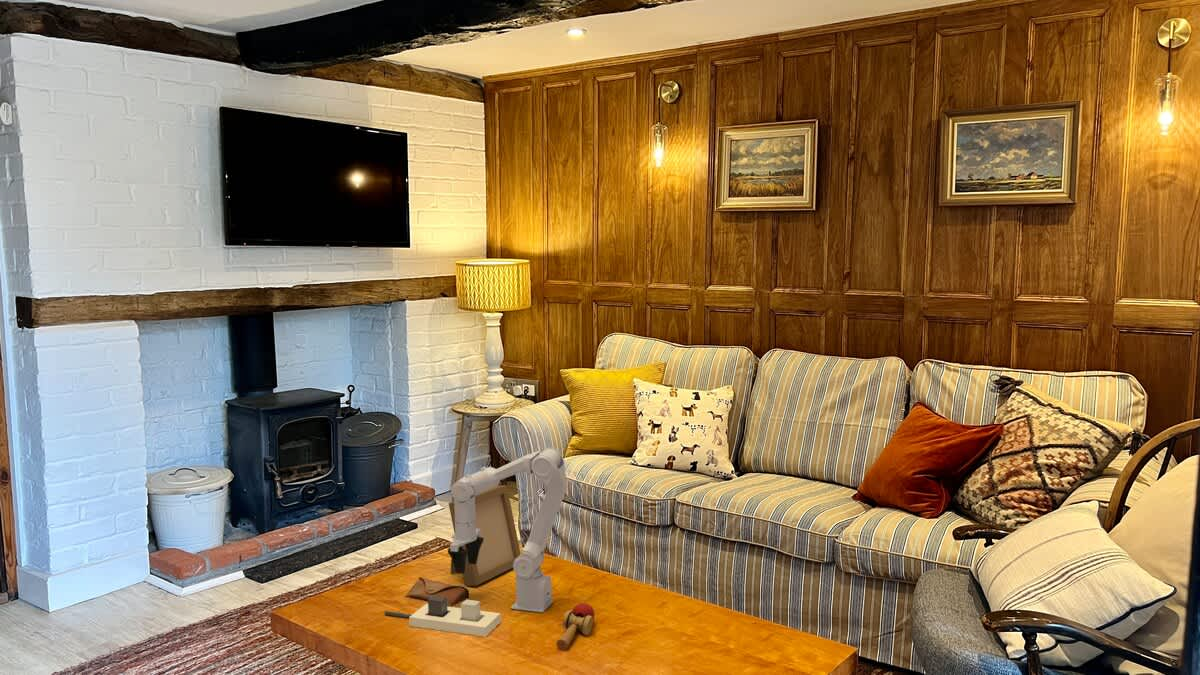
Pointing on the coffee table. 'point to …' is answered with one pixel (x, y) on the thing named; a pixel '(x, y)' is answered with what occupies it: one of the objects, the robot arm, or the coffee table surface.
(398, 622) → the coffee table surface
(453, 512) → the photo frame
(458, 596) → the sunglasses case
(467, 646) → the coffee table surface
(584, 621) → the kendama
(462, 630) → the power strip
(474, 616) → the beige plug
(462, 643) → the coffee table surface
